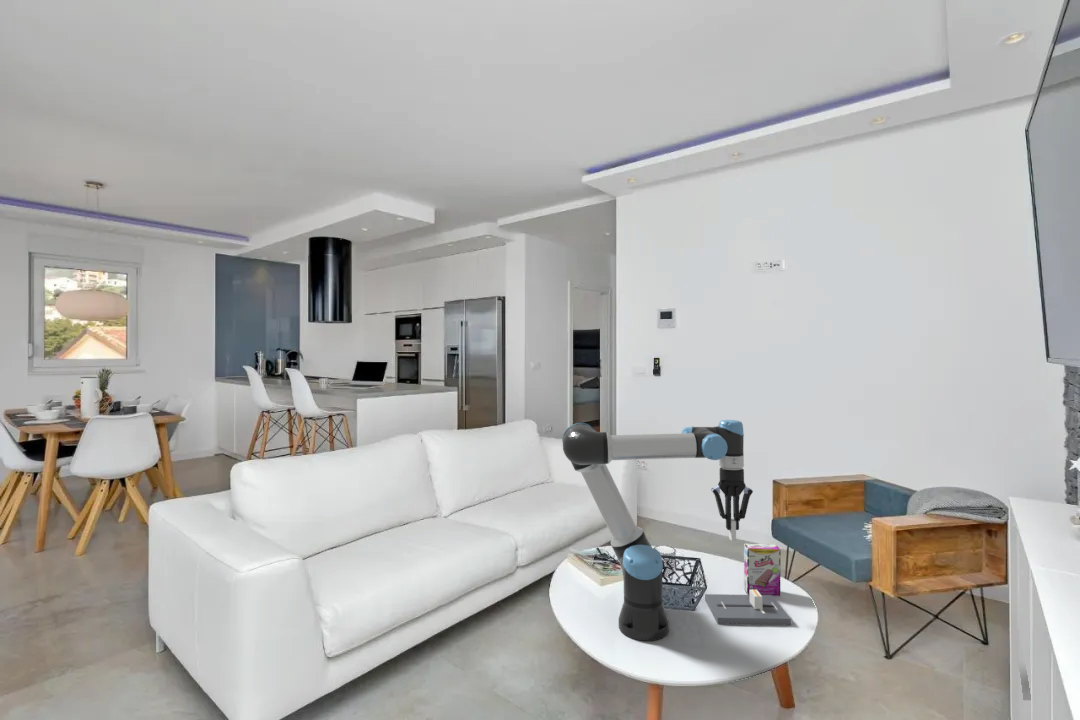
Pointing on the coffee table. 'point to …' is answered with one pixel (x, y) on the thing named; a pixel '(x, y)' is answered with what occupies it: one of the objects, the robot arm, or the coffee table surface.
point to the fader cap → (755, 599)
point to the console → (746, 610)
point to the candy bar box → (762, 568)
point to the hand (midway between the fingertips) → (732, 539)
